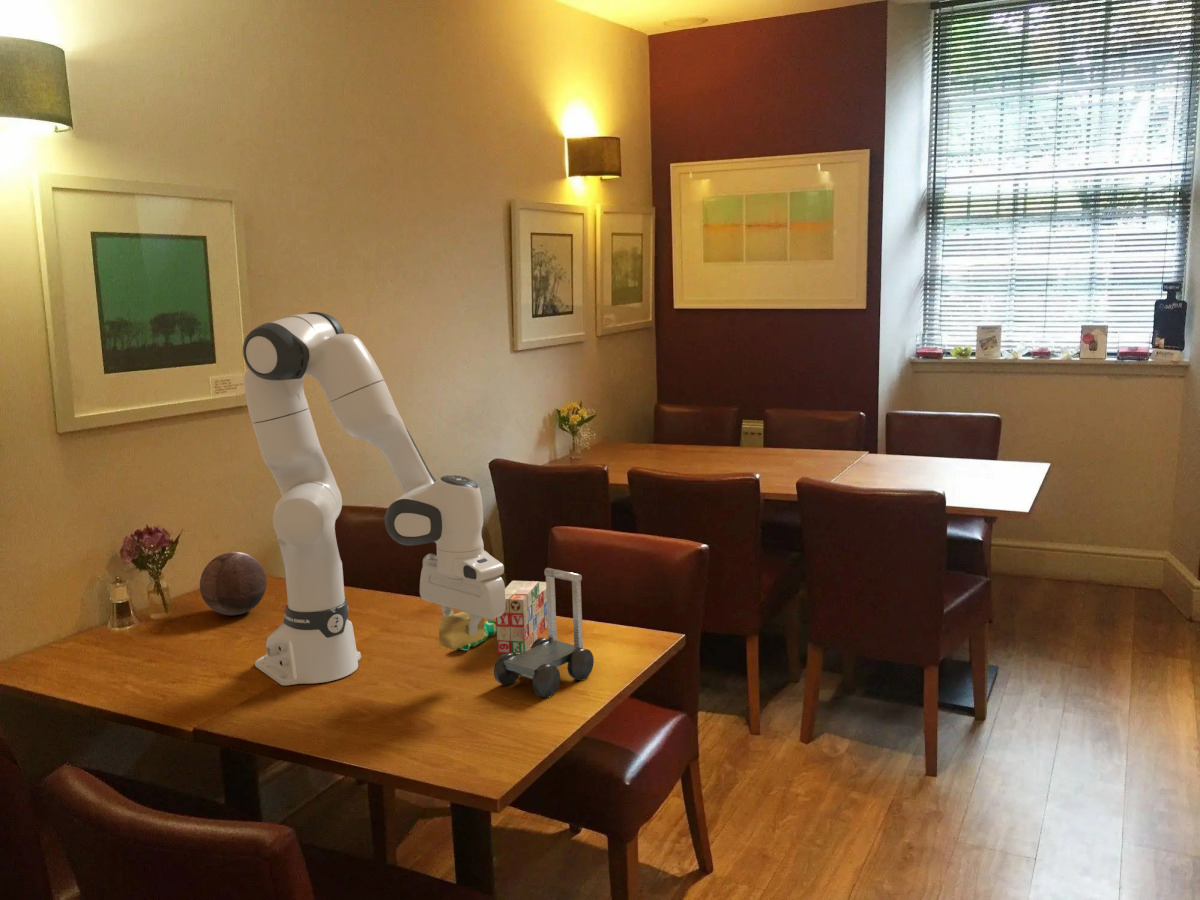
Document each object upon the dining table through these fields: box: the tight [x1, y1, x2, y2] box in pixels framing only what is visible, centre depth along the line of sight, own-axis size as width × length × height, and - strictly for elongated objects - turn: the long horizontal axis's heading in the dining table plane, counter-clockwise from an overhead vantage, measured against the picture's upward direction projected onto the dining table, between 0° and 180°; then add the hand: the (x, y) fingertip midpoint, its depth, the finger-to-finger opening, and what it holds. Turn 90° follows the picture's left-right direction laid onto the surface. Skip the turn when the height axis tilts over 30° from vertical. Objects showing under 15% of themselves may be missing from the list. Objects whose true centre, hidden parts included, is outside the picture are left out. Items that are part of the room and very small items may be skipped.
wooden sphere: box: [199, 551, 268, 616], centre depth 240 cm, size 15×15×15 cm
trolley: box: [493, 567, 595, 699], centre depth 193 cm, size 16×12×20 cm
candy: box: [455, 619, 497, 652], centre depth 217 cm, size 12×3×4 cm
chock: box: [438, 611, 485, 650], centre depth 192 cm, size 4×8×5 cm, turn 142°
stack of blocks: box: [495, 580, 548, 654], centre depth 219 cm, size 21×6×12 cm, turn 167°
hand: (461, 630), depth 192 cm, fingers closed on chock, 4 cm apart
